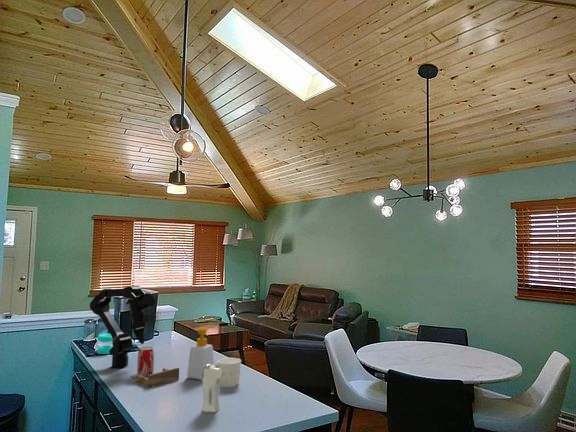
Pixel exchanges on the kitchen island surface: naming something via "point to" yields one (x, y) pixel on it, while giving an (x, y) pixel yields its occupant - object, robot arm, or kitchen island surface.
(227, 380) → the cup
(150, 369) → the soda can
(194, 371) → the soap bottle
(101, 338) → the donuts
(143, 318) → the robot arm
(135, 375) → the mat
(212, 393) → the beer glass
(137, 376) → the shelf lane
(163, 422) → the kitchen island surface
